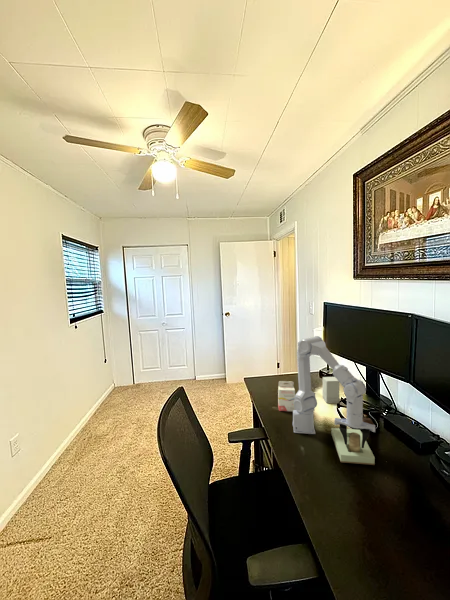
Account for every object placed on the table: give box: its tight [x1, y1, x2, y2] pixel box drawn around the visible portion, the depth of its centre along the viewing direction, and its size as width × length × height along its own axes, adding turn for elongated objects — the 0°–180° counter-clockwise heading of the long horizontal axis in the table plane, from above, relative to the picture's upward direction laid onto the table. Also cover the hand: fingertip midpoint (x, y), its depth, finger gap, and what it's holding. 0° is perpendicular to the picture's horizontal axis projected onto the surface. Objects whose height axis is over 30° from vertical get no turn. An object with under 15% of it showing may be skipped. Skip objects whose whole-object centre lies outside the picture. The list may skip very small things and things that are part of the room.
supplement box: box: [322, 376, 340, 404], centre depth 168 cm, size 7×7×13 cm
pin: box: [349, 432, 360, 453], centre depth 117 cm, size 4×4×8 cm
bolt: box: [363, 413, 375, 425], centre depth 143 cm, size 6×5×15 cm
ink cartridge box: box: [277, 380, 296, 412], centre depth 158 cm, size 9×5×15 cm, turn 84°
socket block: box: [330, 427, 376, 466], centre depth 122 cm, size 12×20×3 cm, turn 170°
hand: (354, 445), depth 117 cm, fingers open, 5 cm apart
